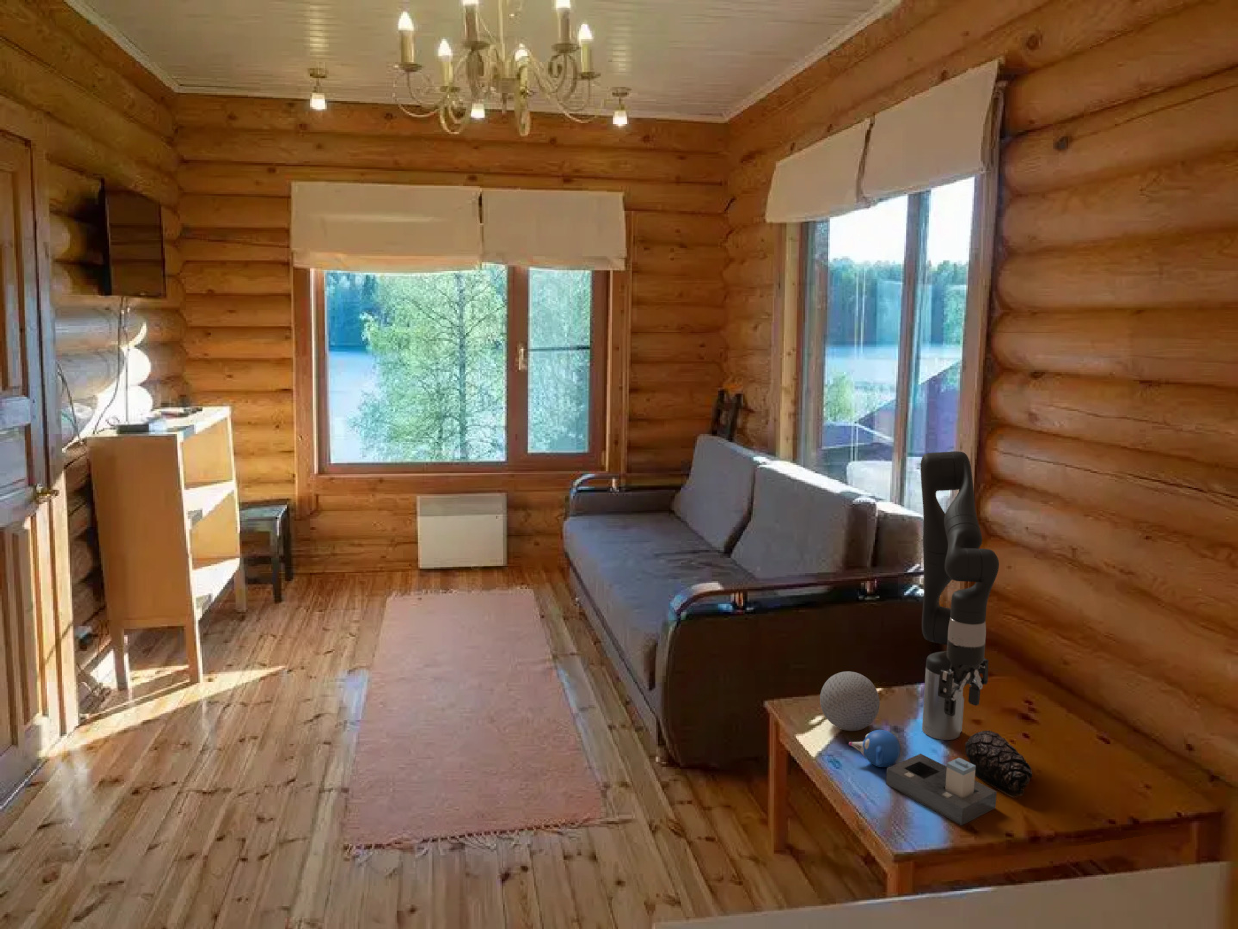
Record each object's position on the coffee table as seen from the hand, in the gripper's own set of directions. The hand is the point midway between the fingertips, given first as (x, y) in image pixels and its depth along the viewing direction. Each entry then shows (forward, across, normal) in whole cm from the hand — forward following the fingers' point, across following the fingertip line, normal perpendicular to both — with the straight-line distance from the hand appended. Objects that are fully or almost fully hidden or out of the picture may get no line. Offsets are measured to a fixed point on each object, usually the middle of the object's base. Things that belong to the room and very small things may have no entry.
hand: (961, 709), depth 193 cm
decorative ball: (+23, -8, -38) cm, 45 cm away
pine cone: (+23, -18, 0) cm, 29 cm away
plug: (+22, 0, +1) cm, 22 cm away
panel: (+22, 0, -4) cm, 23 cm away
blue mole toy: (+23, +1, -22) cm, 32 cm away
